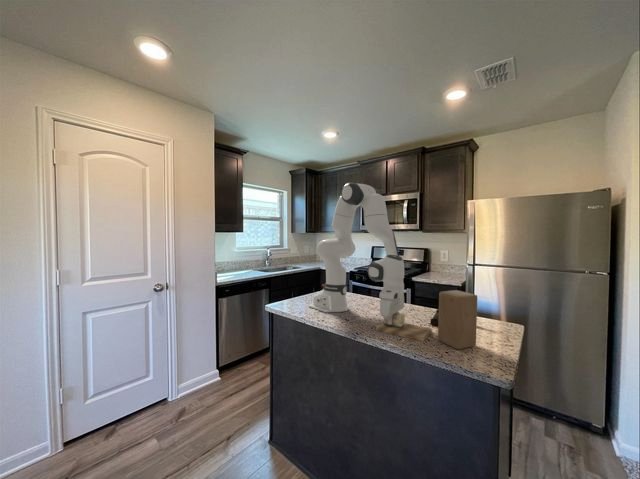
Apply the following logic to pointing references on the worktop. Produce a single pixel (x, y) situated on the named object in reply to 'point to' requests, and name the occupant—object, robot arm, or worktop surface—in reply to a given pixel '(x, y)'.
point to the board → (406, 331)
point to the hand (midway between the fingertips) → (392, 322)
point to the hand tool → (435, 319)
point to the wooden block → (457, 319)
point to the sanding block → (396, 320)
